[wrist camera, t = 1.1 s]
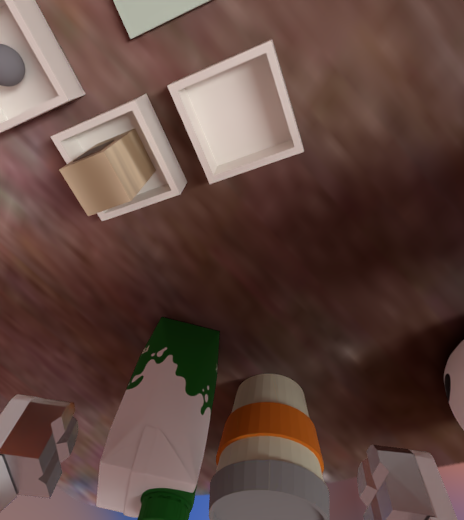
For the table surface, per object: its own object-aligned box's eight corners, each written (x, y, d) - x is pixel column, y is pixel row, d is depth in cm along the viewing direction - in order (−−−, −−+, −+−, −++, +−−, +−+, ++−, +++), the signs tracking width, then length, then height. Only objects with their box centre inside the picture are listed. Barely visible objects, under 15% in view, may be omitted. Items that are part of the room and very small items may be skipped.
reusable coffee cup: (257, 435, 55) (252, 558, 43) (204, 384, 50) (180, 505, 38) (335, 408, 50) (355, 538, 38) (285, 349, 46) (289, 475, 33)
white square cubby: (146, 93, 32) (135, 99, 29) (187, 182, 36) (180, 194, 33) (67, 128, 34) (50, 136, 31) (113, 208, 38) (101, 221, 35)
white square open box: (26, -17, 28) (1, -20, 26) (85, 94, 32) (69, 100, 30) (-53, 30, 31) (-83, 31, 28) (11, 128, 34) (-10, 137, 32)
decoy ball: (17, 36, 30) (-7, 37, 27) (40, 75, 31) (19, 80, 29) (-12, 51, 31) (-38, 54, 28) (12, 89, 32) (-11, 95, 30)
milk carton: (213, 375, 49) (180, 558, 32) (145, 358, 49) (76, 535, 32) (229, 327, 45) (200, 512, 28) (154, 308, 44) (78, 484, 27)
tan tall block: (134, 127, 33) (103, 150, 27) (156, 170, 35) (131, 200, 29) (95, 143, 34) (57, 168, 28) (118, 184, 36) (87, 216, 30)
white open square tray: (271, 38, 29) (271, 40, 26) (301, 141, 33) (304, 151, 30) (176, 80, 31) (167, 85, 28) (214, 172, 35) (209, 184, 32)
